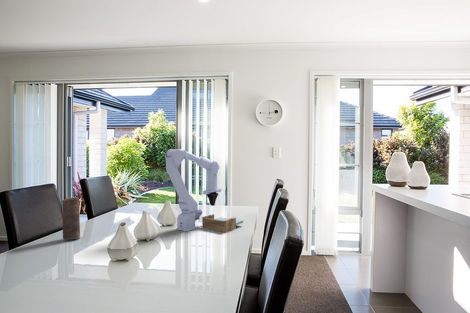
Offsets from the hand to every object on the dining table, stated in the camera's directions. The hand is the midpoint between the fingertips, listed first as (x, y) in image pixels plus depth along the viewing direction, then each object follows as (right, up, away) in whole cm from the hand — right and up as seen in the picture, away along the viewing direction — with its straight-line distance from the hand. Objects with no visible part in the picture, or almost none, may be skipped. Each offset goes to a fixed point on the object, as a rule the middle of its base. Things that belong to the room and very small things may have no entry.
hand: (212, 205), depth 177 cm
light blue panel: (+7, -8, -7) cm, 13 cm away
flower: (-12, -11, +12) cm, 20 cm away
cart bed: (+4, -11, -11) cm, 16 cm away
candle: (-65, -12, -30) cm, 73 cm away
